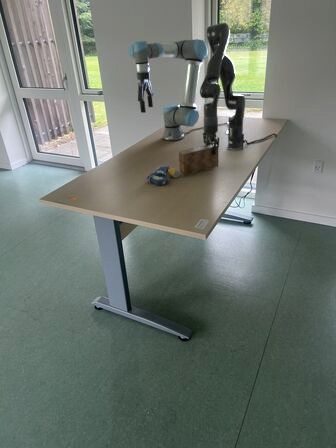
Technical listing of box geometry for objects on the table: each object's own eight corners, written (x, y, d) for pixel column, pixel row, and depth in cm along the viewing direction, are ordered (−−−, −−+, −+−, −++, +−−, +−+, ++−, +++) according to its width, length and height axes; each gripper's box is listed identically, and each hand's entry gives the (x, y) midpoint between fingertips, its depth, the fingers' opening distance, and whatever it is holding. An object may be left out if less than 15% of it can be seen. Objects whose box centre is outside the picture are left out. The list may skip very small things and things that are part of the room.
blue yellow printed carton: (184, 172, 190) (161, 169, 197) (183, 165, 188) (160, 163, 195) (168, 188, 175) (143, 185, 181) (167, 180, 173) (142, 177, 179)
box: (184, 175, 185) (183, 154, 178) (179, 172, 189) (178, 151, 183) (218, 166, 192) (218, 145, 185) (213, 163, 196) (213, 143, 190)
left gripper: (141, 74, 181) (146, 114, 192) (155, 68, 201) (159, 104, 212) (129, 75, 183) (134, 114, 194) (144, 68, 203) (148, 105, 214)
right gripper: (223, 124, 176) (223, 155, 184) (210, 119, 187) (210, 148, 196) (211, 127, 173) (212, 158, 182) (198, 121, 185) (199, 151, 194)
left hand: (147, 109), depth 203 cm, fingers open, 13 cm apart
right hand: (211, 153), depth 189 cm, fingers closed on box, 6 cm apart
